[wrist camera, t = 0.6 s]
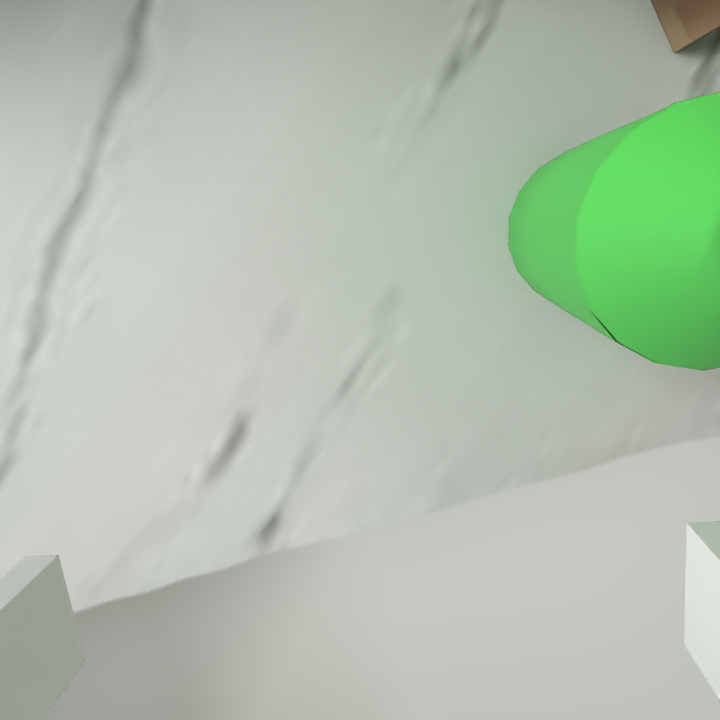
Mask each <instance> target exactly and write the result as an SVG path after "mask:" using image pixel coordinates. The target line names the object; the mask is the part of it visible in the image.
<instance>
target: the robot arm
mask: <svg viewBox="0 0 720 720" xmlns="http://www.w3.org/2000/svg"><path fill="white" fill-rule="evenodd" d="M685 584H686V585H685V630H684V631H685V632H684V645H685V646H686V648H687V649H688V651H689V653H690V654H691V656H692V657H693V659H694V661H695V662H696V663H697V665H698V667H699V668H700V670H701V672H702V673H703V675H704V677H705V678H706V680H707V681H708V683H709V684H710V686H711V688H712V689H713V691H714V692H715V694H716V696H717V697H718V699H719V700H720V521H715V522H696V523H687V534H686V583H685ZM84 663H85V657H84V653H83V649H82V646H81V641H80V637H79V634H78V630H77V626H76V622H75V618H74V614H73V610H72V606H71V602H70V599H69V595H68V591H67V587H66V583H65V579H64V575H63V571H62V568H61V564H60V560H59V556H58V555H50V556H30V557H25V558H24V559H23V560H22V561H21V562H20V563H18V564H17V565H16V566H15V567H14V568H13V569H12V570H10V571H9V572H8V573H7V574H6V575H5V576H4V577H3V578H1V579H0V720H43V719H44V717H45V716H46V715H47V713H48V712H49V710H50V709H51V708H52V706H53V705H54V704H55V702H56V701H57V700H58V698H59V697H60V696H61V694H62V693H63V691H64V690H65V688H66V687H67V686H68V684H69V683H70V682H71V680H72V679H73V678H74V676H75V675H76V674H77V672H78V671H79V670H80V668H81V667H82V666H83V664H84Z"/></svg>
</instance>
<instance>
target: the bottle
mask: <svg viewBox="0 0 720 720" xmlns="http://www.w3.org/2000/svg"><path fill="white" fill-rule="evenodd" d="M509 249H510V252H511V254H512V257H513V260H514V263H515V266H516V269H517V271H518V272H519V273H520V275H521V276H522V277H523V278H524V279H525V280H526V282H527V283H528V284H529V285H530V286H531V287H532V289H533V290H534V291H536V292H537V293H539V294H540V295H542V296H543V297H545V298H547V299H548V300H550V301H551V302H553V303H554V304H556V305H557V306H559V307H561V308H562V309H564V310H565V311H567V312H569V313H570V314H572V315H573V316H575V317H577V318H578V319H580V320H581V321H583V322H585V323H586V324H588V325H590V326H591V327H593V328H594V329H596V330H598V331H599V332H601V333H602V334H604V335H606V336H607V337H609V338H611V339H612V340H614V341H615V342H617V343H619V344H621V345H623V346H625V347H626V348H628V349H630V350H632V351H634V352H636V353H637V354H639V355H641V356H643V357H645V358H647V359H649V360H650V361H652V362H654V363H658V364H665V365H671V366H678V367H684V368H690V369H697V370H708V369H714V368H720V92H719V93H714V94H710V95H705V96H701V97H697V98H692V99H688V100H684V101H679V102H675V103H673V104H671V105H670V106H668V107H667V108H664V109H662V110H660V111H658V112H655V113H653V114H651V115H648V116H646V117H644V118H641V119H639V120H637V121H634V122H632V123H630V124H627V125H625V126H623V127H620V128H618V129H616V130H613V131H611V132H609V133H606V134H604V135H602V136H599V137H597V138H595V139H593V140H591V141H589V142H587V143H584V144H582V145H580V146H578V147H576V148H574V149H572V150H569V151H567V152H565V153H563V154H561V155H560V156H558V157H557V158H555V159H553V160H552V161H550V162H549V163H547V164H545V165H544V166H542V167H541V168H539V169H537V171H536V172H535V173H534V174H533V176H532V177H531V178H530V179H529V180H528V182H527V183H526V184H525V185H524V187H523V188H522V189H521V190H520V191H519V193H518V196H517V199H516V201H515V204H514V207H513V209H512V212H511V215H510V217H509Z"/></svg>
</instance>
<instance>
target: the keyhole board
mask: <svg viewBox="0 0 720 720" xmlns="http://www.w3.org/2000/svg"><path fill="white" fill-rule="evenodd" d="M651 2H652V4H653V6H654V8H655V11H656V13H657V15H658V18H659V20H660V22H661V24H662V27H663V29H664V31H665V34H666V36H667V38H668V40H669V43H670V45H671V47H672V49H673V52H674V53H675V52H677V51H679V50H681V49H682V48H684V47H686V46H687V45H689V44H691V43H692V42H694V41H696V40H698V39H699V38H701V37H703V36H704V35H706V34H708V33H709V32H711V31H713V30H715V29H716V28H718V27H720V0H651Z"/></svg>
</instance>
